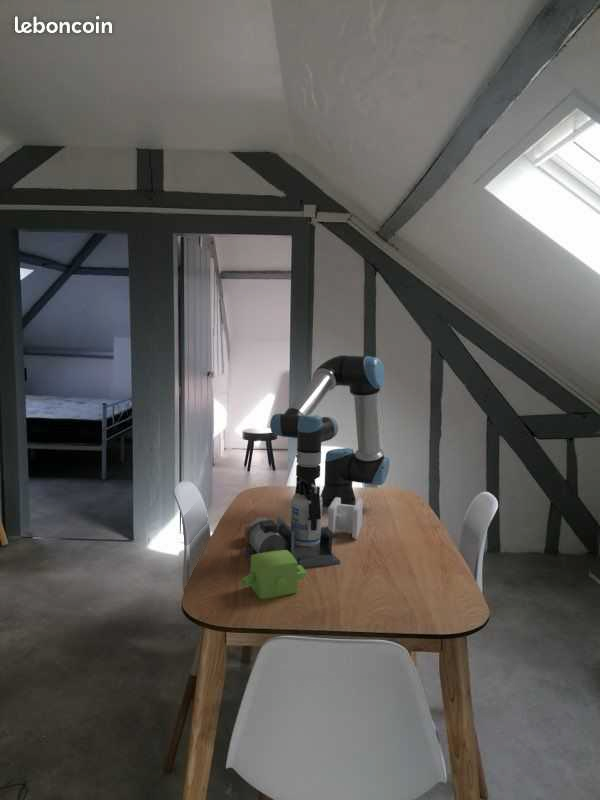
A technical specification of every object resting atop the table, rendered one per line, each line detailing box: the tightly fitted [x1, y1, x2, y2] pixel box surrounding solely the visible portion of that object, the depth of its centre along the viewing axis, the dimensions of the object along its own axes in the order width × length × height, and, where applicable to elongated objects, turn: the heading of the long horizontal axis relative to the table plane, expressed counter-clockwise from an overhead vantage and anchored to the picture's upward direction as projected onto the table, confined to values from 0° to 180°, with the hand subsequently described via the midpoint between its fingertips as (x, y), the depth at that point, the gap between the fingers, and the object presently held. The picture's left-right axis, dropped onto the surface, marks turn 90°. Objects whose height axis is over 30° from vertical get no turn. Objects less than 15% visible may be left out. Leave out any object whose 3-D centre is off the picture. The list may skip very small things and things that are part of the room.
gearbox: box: [240, 550, 308, 600], centre depth 148 cm, size 18×10×10 cm, turn 113°
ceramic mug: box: [244, 516, 268, 544], centre depth 184 cm, size 11×8×8 cm
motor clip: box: [242, 516, 341, 569], centre depth 172 cm, size 27×18×12 cm, turn 111°
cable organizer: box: [327, 497, 364, 540], centre depth 196 cm, size 15×11×12 cm
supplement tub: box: [290, 493, 323, 547], centre depth 173 cm, size 10×10×15 cm
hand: (305, 534), depth 174 cm, fingers closed on supplement tub, 9 cm apart
